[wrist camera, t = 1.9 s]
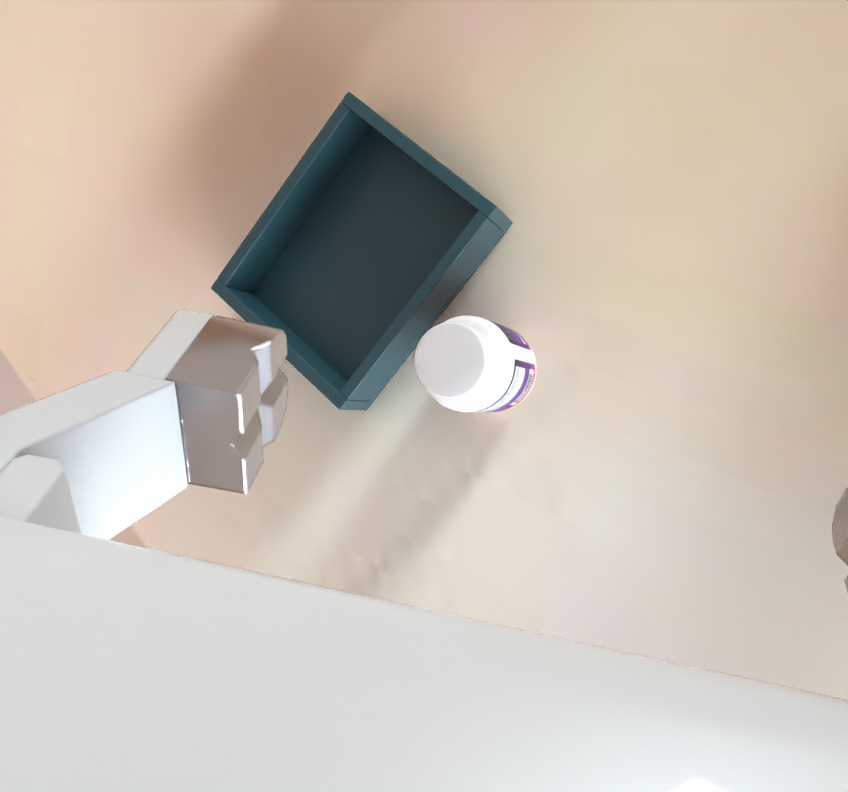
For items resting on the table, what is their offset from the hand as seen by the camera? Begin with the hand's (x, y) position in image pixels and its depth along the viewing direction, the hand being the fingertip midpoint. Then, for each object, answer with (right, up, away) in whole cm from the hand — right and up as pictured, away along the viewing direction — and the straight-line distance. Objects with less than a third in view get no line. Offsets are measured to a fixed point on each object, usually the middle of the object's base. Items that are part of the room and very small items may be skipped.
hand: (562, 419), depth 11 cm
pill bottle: (+3, +2, +39) cm, 39 cm away
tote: (-6, +9, +42) cm, 43 cm away
